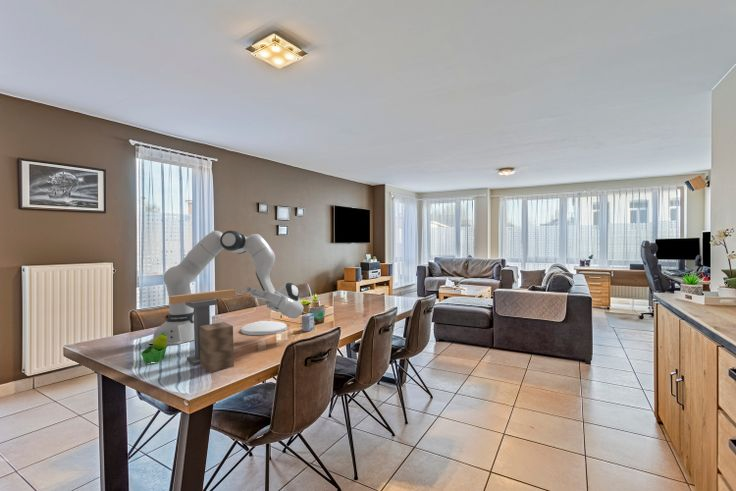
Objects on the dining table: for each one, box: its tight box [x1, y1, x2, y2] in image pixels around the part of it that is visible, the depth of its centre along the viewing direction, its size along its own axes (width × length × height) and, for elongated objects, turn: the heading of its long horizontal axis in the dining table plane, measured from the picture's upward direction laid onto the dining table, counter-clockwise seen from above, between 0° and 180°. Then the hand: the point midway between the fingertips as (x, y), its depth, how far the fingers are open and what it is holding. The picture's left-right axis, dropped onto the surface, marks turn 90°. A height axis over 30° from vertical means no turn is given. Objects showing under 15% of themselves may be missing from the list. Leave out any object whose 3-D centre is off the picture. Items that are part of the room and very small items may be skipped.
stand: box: [185, 299, 218, 367], centre depth 153 cm, size 10×10×26 cm
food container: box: [308, 304, 327, 325], centre depth 218 cm, size 12×6×10 cm, turn 148°
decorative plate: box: [240, 320, 288, 336], centre depth 205 cm, size 25×4×25 cm
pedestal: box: [199, 321, 235, 374], centre depth 146 cm, size 10×10×16 cm
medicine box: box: [301, 312, 315, 333], centre depth 202 cm, size 8×4×9 cm, turn 168°
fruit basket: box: [140, 334, 168, 364], centre depth 155 cm, size 11×9×11 cm
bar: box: [168, 289, 236, 305], centre depth 154 cm, size 26×3×3 cm, turn 131°
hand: (251, 289), depth 168 cm, fingers open, 8 cm apart
